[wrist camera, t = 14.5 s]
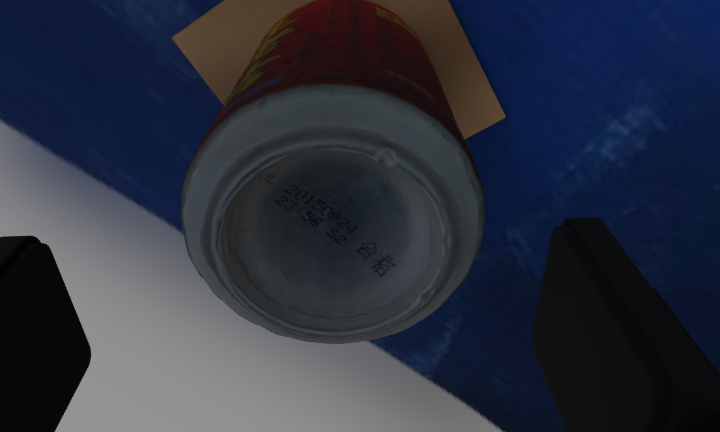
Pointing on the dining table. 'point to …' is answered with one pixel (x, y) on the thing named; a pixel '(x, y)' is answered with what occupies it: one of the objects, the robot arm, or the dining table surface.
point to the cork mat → (411, 3)
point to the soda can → (334, 182)
